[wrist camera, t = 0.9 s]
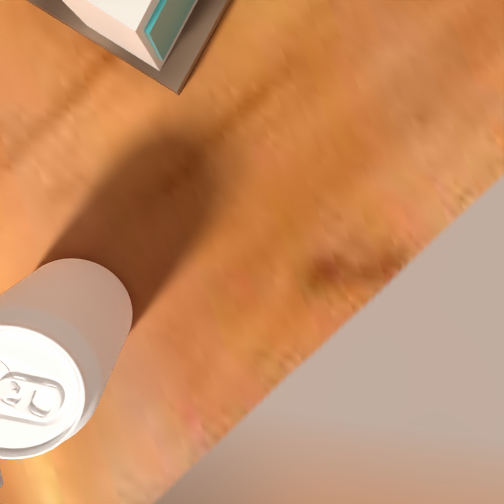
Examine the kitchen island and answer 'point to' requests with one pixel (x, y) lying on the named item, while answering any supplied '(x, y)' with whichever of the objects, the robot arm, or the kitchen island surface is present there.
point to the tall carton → (137, 24)
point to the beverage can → (57, 352)
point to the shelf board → (179, 58)
